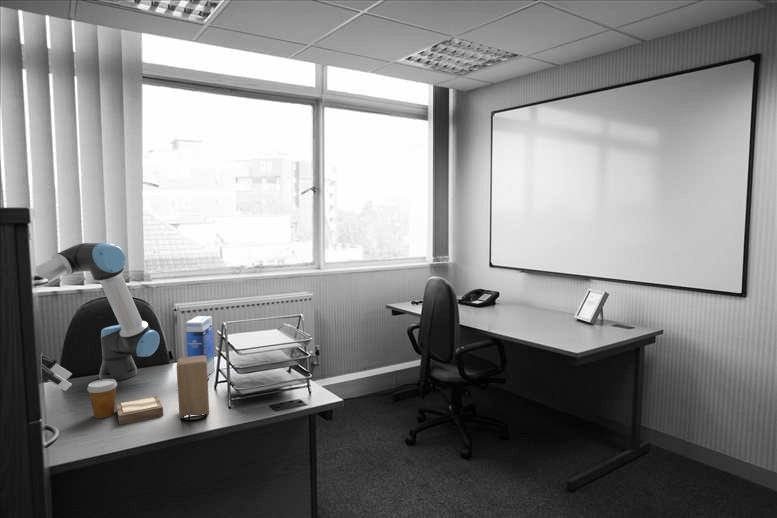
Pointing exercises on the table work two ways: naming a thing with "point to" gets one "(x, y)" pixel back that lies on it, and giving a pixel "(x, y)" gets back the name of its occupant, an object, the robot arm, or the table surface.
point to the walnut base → (139, 409)
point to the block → (192, 385)
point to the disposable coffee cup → (102, 397)
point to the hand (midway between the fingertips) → (69, 382)
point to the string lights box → (201, 339)
